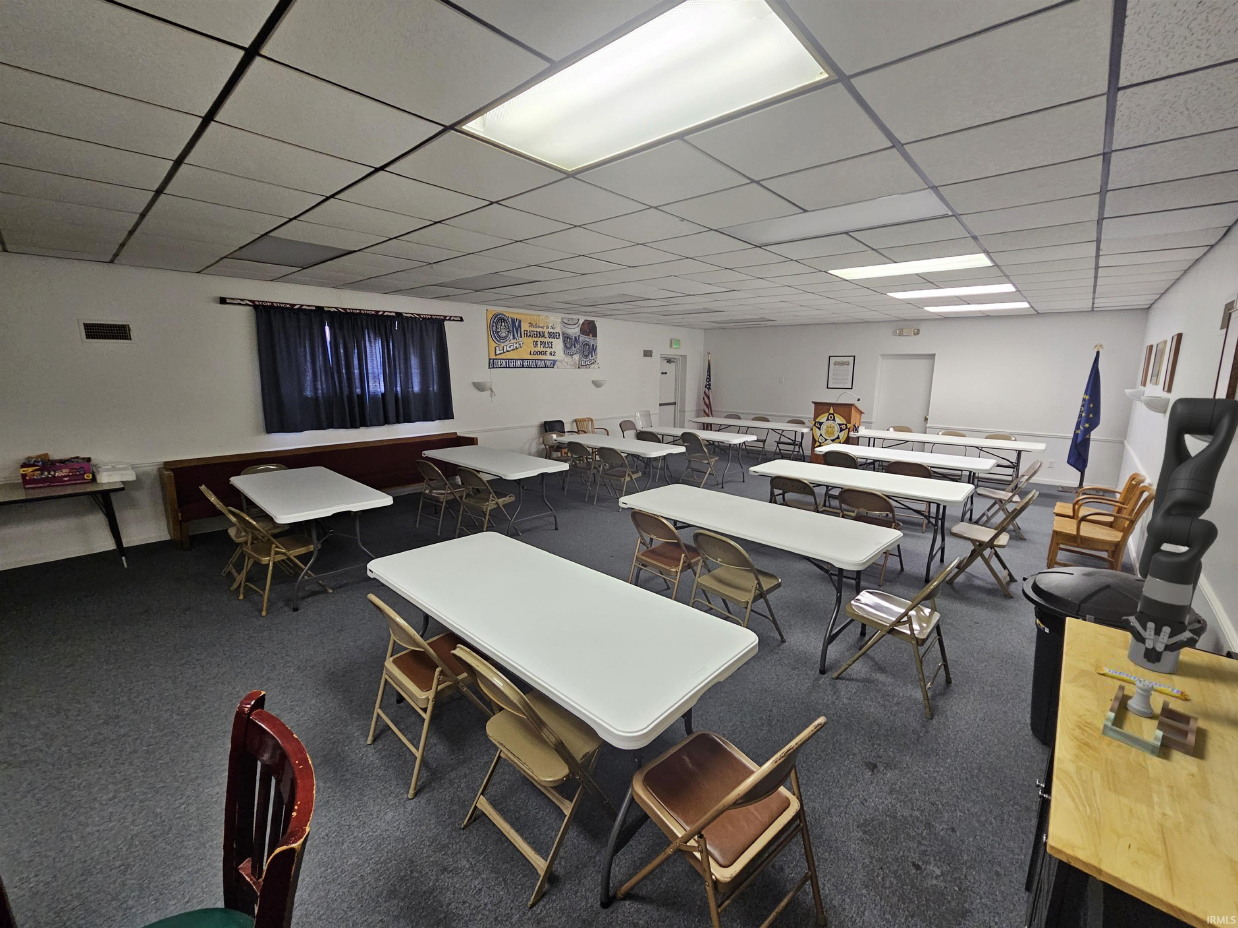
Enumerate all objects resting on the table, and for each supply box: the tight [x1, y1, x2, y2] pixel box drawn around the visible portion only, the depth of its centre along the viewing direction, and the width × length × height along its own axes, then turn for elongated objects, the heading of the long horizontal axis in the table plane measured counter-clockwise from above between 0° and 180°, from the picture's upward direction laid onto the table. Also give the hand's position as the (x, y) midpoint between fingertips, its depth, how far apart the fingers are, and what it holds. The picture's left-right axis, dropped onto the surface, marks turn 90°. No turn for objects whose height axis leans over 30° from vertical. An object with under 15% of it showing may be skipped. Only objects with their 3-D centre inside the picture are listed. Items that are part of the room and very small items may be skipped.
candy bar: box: [1094, 663, 1190, 701], centre depth 126 cm, size 17×4×2 cm, turn 44°
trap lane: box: [1101, 684, 1199, 758], centre depth 110 cm, size 23×13×2 cm, turn 128°
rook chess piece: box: [1125, 678, 1155, 718], centre depth 115 cm, size 4×4×8 cm
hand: (1151, 661), depth 117 cm, fingers closed
